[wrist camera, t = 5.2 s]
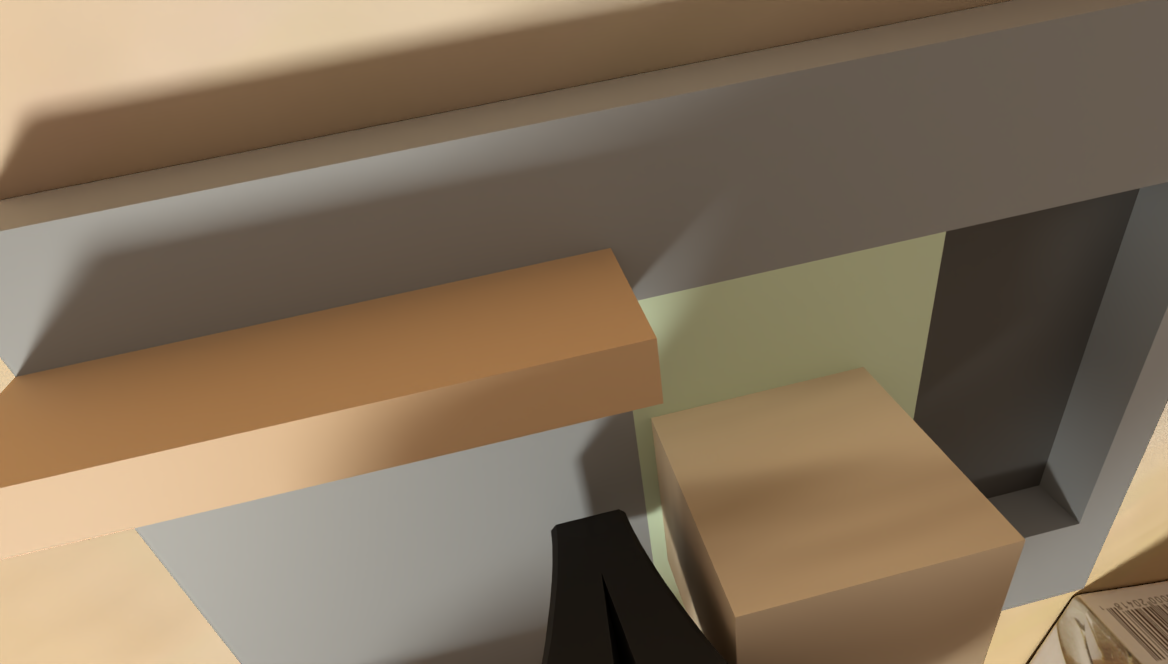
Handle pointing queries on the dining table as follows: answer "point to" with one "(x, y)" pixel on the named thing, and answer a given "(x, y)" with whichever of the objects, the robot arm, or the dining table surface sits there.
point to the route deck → (593, 320)
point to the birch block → (828, 530)
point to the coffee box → (1111, 628)
